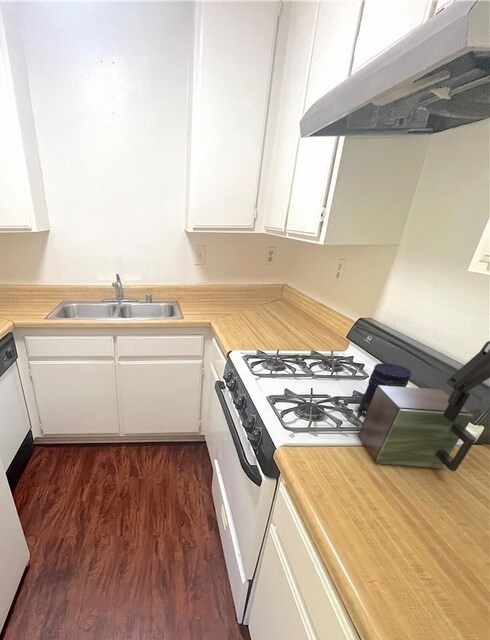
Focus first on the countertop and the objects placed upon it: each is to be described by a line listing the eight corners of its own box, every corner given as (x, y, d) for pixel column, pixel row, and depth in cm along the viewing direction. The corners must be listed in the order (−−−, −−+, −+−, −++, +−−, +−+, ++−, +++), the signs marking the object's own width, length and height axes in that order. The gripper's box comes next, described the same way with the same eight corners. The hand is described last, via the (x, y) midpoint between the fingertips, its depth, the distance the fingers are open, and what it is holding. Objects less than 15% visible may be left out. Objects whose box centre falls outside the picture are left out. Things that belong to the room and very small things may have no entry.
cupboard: (438, 465, 88) (470, 412, 79) (374, 460, 89) (399, 407, 80) (414, 439, 98) (441, 389, 89) (357, 435, 99) (377, 385, 90)
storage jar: (395, 423, 105) (416, 378, 97) (360, 418, 107) (378, 373, 99) (387, 408, 113) (407, 365, 105) (355, 403, 115) (371, 361, 107)
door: (456, 485, 82) (492, 430, 73) (387, 479, 83) (415, 425, 74) (439, 466, 88) (470, 413, 79) (375, 461, 89) (399, 408, 80)
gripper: (603, 316, 63) (531, 416, 75) (460, 308, 65) (411, 407, 76) (647, 329, 57) (560, 435, 69) (487, 319, 58) (429, 425, 70)
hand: (482, 421), depth 73 cm, fingers open, 13 cm apart
